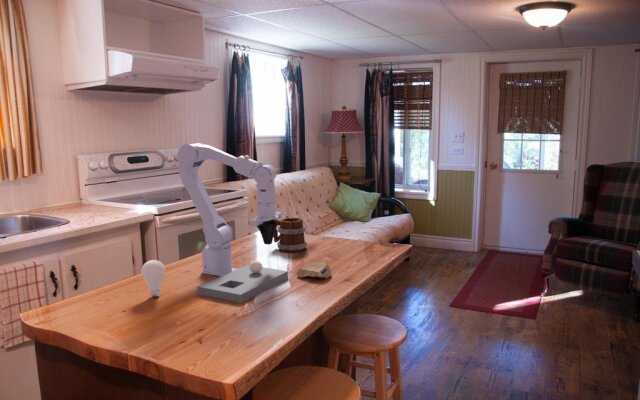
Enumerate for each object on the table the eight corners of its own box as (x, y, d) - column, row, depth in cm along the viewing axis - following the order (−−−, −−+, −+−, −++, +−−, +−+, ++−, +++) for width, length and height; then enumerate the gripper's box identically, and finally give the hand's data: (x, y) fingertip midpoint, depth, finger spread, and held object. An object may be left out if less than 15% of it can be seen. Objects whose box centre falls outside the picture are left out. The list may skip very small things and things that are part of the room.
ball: (247, 273, 160) (246, 261, 159) (254, 270, 163) (254, 258, 163) (257, 275, 158) (256, 263, 157) (265, 272, 162) (264, 259, 161)
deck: (197, 294, 150) (197, 286, 149) (247, 272, 170) (247, 264, 170) (240, 303, 142) (240, 294, 141) (288, 278, 162) (287, 271, 162)
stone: (321, 283, 158) (320, 269, 157) (294, 278, 164) (294, 264, 163) (336, 276, 165) (335, 262, 164) (310, 271, 171) (309, 258, 170)
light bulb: (171, 294, 151) (169, 258, 149) (157, 301, 144) (154, 264, 143) (152, 292, 153) (150, 256, 151) (138, 299, 147) (135, 262, 145)
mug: (302, 254, 190) (294, 214, 189) (268, 257, 196) (261, 219, 194) (314, 246, 201) (306, 209, 200) (282, 249, 207) (275, 213, 205)
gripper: (263, 207, 155) (265, 250, 157) (289, 199, 168) (290, 240, 170) (244, 205, 159) (246, 247, 161) (271, 198, 171) (273, 237, 173)
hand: (268, 243), depth 165 cm, fingers closed
